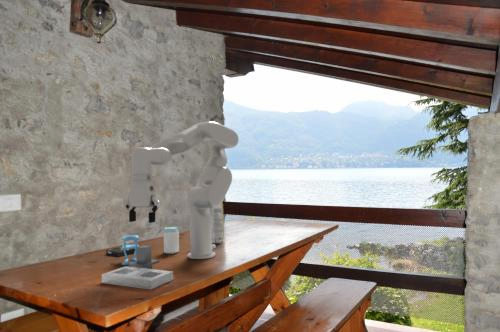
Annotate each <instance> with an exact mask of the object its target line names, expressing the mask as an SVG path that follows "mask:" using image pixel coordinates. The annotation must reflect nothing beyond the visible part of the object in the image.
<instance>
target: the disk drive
mask: <svg viewBox="0 0 500 332" xmlns="http://www.w3.org/2000/svg"><path fill="white" fill-rule="evenodd" d="M125 251H126V254H127V256H128V255H133V254H134V252H135V248H132V249H126V250H125ZM105 255H106V256H107V255H108V256H112V257H117V258H120V257H121V258H122V257H125V254H124V251H123V247H122V246H118V247H114V248H110V249H105Z"/></svg>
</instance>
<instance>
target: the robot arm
mask: <svg viewBox="0 0 500 332" xmlns="http://www.w3.org/2000/svg"><path fill="white" fill-rule="evenodd" d="M203 142H207V146H208V148H209V152H210V153H209V154H210V156H209V158H208V161H207V163H206V165H204V166H205V167H204V169H203V170H202V172H201V175H200V178H199V179H200V180H199V181H200V184H201V185H202V186H194V187H192V188H191V189H190V190H189V191H188V192H187V197H186V200H187V204H188V209H189V236H190V237H189V238H190V252H189V253H187V255H186V256H187V258H188V259H192V260H206V259H211V258H215V256H216V252H214V251H213V249H216V247H217V246H216V243H212V236H211V214H210V211H209V208H217V207H219V206H220V204H221V203H223V201H224V200H225V197H226V195H227V193H228V191H229V189H230V187H231V185H232V181H233V174H232V171H231V170H230V168H228V167H227V163H228V157H227V154H226V151H225V149H234V148H235V147H237V145H238V144H239V135H238V133H237V132H236V131H235V130H234V129H232V128H230V127H227V126H225V125H223V124H221V123H219V122H216V121H212V120H211V121H203V122H198V123H196V124H195V123H194V125H192V126H190V127H188V128H186V129H184V130H183V131H181V132H179V133H177V134H175V135H172V136H169V137H168V138H166V139H163V140H161V141H159V142H156V143H154V144H153V145H151V146H149V147H144V146H142V147H141V146H140V147H134V148H132V150H131V182H130V187H129V193H128V194H129V197H127V198H126V199H124V201H123V202H124V205H125V209H127V212H128V217H129V218H128V220H129V222H130V223H132V222H136V220H137V211H136V209H137V208H144V209H145V208H147V210H148V211H149V212H148V223H149V224H151V223H155V222H156V212H157V211H158V209H159V208H160V205H161V204H162V201H161V200H159V199H158V198H156V189H155V184H154V181H152V180H153V179H154V176H153V175H152V174H153V173H152V171H153V170H152V169H153V168H152V167H164V166H167V165H168V164H170V163H171V161H172V157H173V156H174V155H178V154H183V153H186V152H188V151H190V150H192V149H193V148H195V147H197V146H198V145H200V144H202V143H203Z"/></svg>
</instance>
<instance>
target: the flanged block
mask: <svg viewBox="0 0 500 332" xmlns="http://www.w3.org/2000/svg"><path fill="white" fill-rule="evenodd" d="M138 246H139V247H136V259H137V261H134V262H133V261H130V262H131V263H128V265H127V266H128V267H137V268H146V269H153V265H156V264H159V263H160V260H159V259H152V246H151V245H145V244H143V245H138Z"/></svg>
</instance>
